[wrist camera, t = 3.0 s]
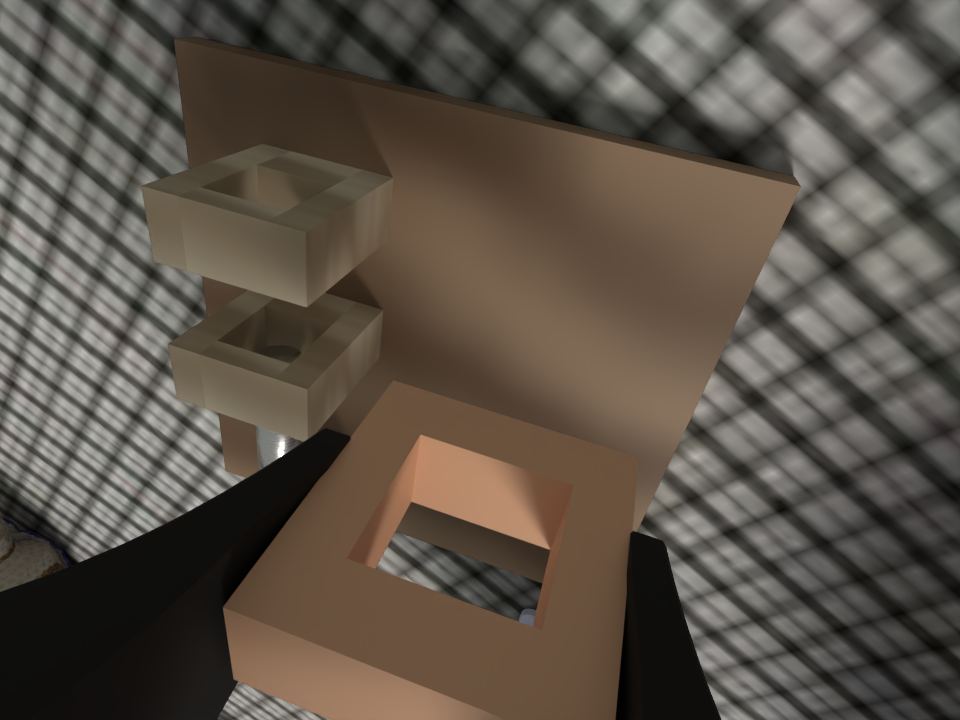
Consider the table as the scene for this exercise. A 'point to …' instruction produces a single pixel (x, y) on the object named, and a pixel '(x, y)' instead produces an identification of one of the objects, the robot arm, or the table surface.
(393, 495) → the spacer
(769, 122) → the table surface
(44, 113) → the table surface
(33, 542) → the decorative bottle
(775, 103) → the table surface
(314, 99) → the cradle
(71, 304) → the table surface
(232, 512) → the robot arm
